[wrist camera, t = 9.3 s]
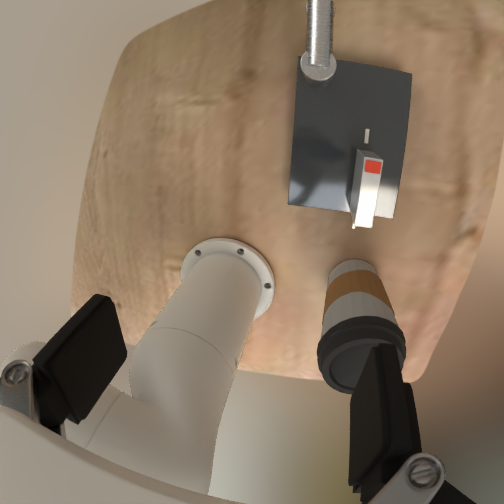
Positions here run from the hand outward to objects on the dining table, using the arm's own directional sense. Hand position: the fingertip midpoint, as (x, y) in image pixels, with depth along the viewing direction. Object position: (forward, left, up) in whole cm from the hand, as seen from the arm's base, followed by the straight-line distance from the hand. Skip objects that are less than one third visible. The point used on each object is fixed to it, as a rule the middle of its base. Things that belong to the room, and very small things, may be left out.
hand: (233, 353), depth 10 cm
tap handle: (+4, -6, -23) cm, 24 cm away
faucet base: (+7, -3, -26) cm, 27 cm away
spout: (+13, +3, -23) cm, 26 cm away
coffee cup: (-8, -12, -26) cm, 30 cm away
